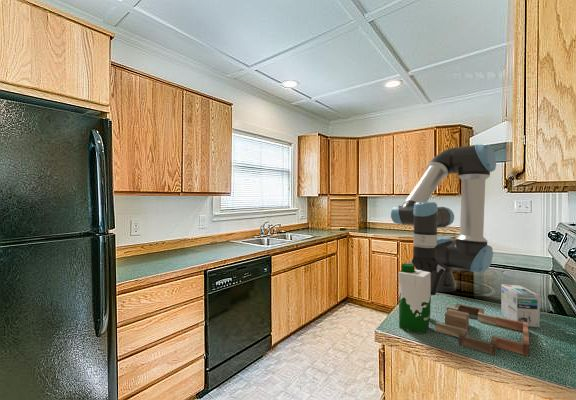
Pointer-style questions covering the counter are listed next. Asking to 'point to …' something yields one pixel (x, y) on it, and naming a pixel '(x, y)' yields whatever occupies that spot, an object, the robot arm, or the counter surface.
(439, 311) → the counter surface
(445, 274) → the robot arm
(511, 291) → the light bulb box
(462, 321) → the block
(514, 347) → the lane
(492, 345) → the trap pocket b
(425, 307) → the milk carton
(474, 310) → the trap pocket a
